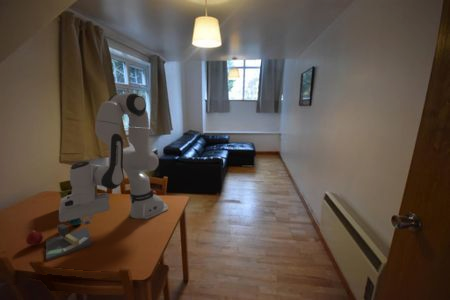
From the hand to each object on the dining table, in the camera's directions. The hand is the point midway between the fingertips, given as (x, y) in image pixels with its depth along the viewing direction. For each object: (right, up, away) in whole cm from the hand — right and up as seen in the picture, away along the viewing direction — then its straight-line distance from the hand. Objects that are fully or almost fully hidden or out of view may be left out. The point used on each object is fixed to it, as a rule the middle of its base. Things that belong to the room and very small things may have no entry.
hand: (87, 223), depth 102 cm
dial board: (-10, -10, +2) cm, 14 cm away
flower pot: (-27, -2, +36) cm, 46 cm away
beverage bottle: (-17, -7, +17) cm, 25 cm away
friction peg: (-9, -9, +1) cm, 13 cm away
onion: (-24, -11, 0) cm, 27 cm away
